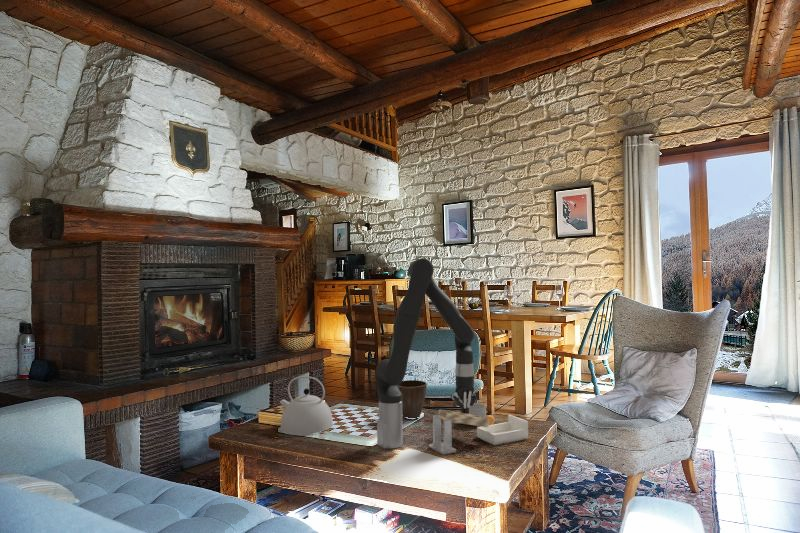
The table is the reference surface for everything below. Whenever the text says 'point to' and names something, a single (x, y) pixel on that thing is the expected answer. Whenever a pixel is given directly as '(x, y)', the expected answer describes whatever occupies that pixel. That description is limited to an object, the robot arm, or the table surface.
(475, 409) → the teacup
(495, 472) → the table surface
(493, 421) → the ball
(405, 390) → the plant pot
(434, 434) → the pivot stand
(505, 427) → the bin
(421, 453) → the table surface
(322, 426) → the kettle
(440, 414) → the chute lever
